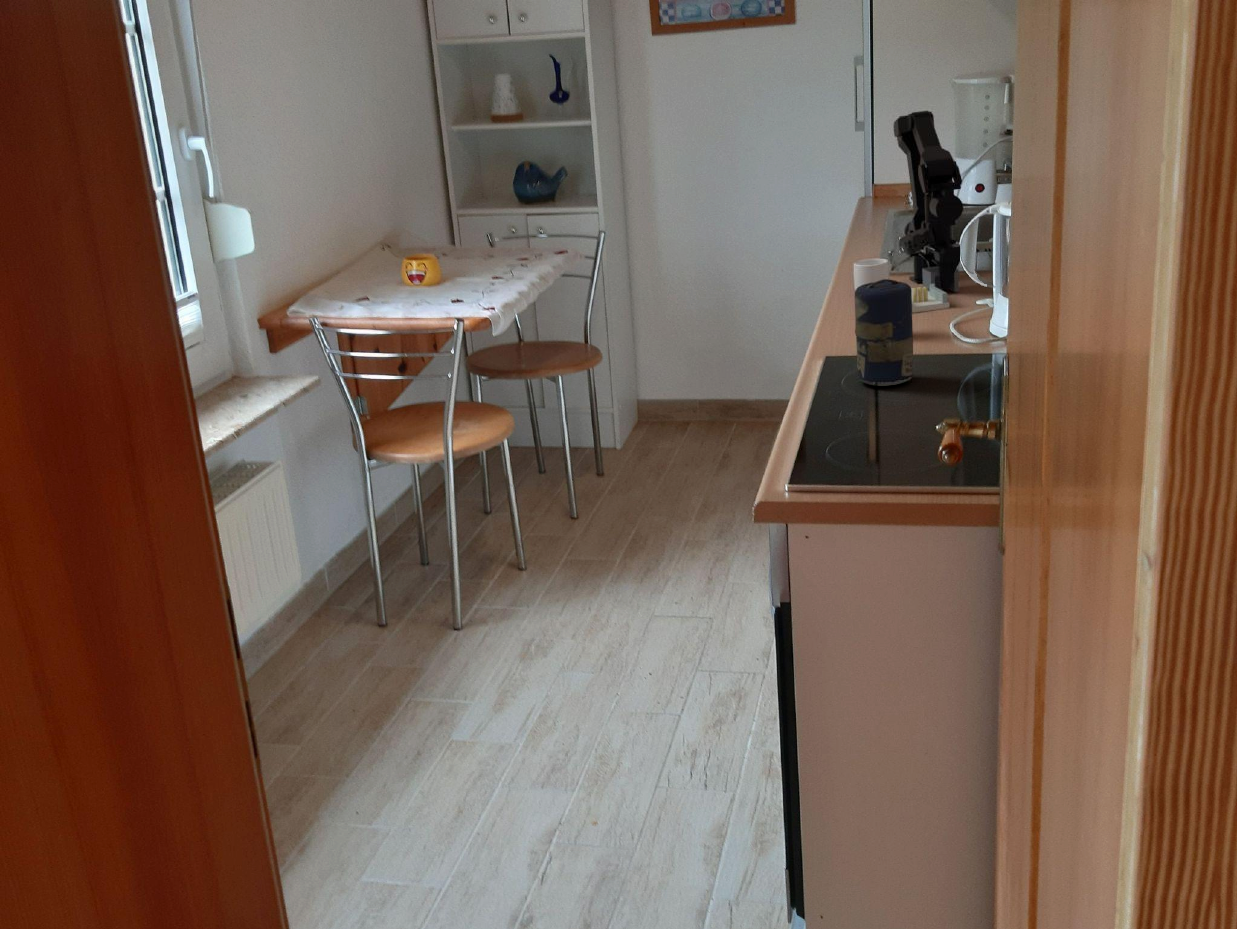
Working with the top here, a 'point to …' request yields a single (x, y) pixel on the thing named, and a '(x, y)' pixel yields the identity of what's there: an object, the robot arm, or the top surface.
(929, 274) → the grey block
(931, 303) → the board
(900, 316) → the canister
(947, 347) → the top surface
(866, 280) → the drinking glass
